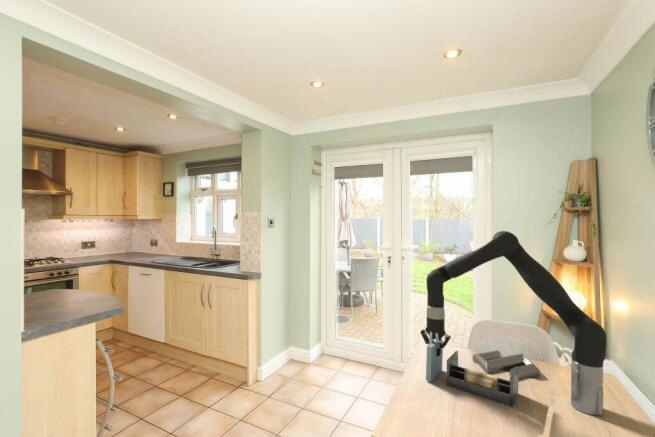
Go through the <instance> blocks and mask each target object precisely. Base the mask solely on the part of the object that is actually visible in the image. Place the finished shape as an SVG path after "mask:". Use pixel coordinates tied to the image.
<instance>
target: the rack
mask: <svg viewBox="0 0 655 437" xmlns="http://www.w3.org/2000/svg"><path fill="white" fill-rule="evenodd" d="M466 368H467V367H462V366H459V351H458V350H455V351H454V352H453V353H452V354H451V356H449V357H448V358H447V359H446V386H447V387H449V388H453V389H455V390H458V391H461V392H464V393H468V394H469V395H473V396H475V397H476V396H477V397H479V398H483V399H486V400H488V401H492V402H494V403H497V404H500V405H503V406H506V407H510V408H512V409H513V408H514V406H515V403H516V401H517V398H518V395H519V380H518V367H515V369H514V371H513V373H512V375H511V377H510V376H509V380H507V379H504V378H500V377H498V391H496V390H493V389H490V388H487V387H483V386H480V385H477V384H474V383H470V382H467V381H465V369H466Z"/></svg>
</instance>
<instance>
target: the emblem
mask: <svg viewBox="0 0 655 437" xmlns="http://www.w3.org/2000/svg"><path fill="white" fill-rule="evenodd" d="M472 361H473V362H474V364H477V365H479V367H480V368H481V369H482V370H483V371H484V373H485V374H489V375H490V374H493V373H497V372H501V371H502V372H507V373H509V378H510V377H511V375H512V373H513V371H514V369H515V367H518V381H519V380H523V379H525V378H529V379H535V378H538V377H540V376H541V370H540V368H538V366H536V365H535V364H534V363H533V362H532V361H531V360H529V358H528V357H527V356H525V355H524V354H523V353H517V354H511V355H505V356H502V354H501V351H500V350H493V351H485V352H480V353H475V354H474V353H473V354H472Z"/></svg>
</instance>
